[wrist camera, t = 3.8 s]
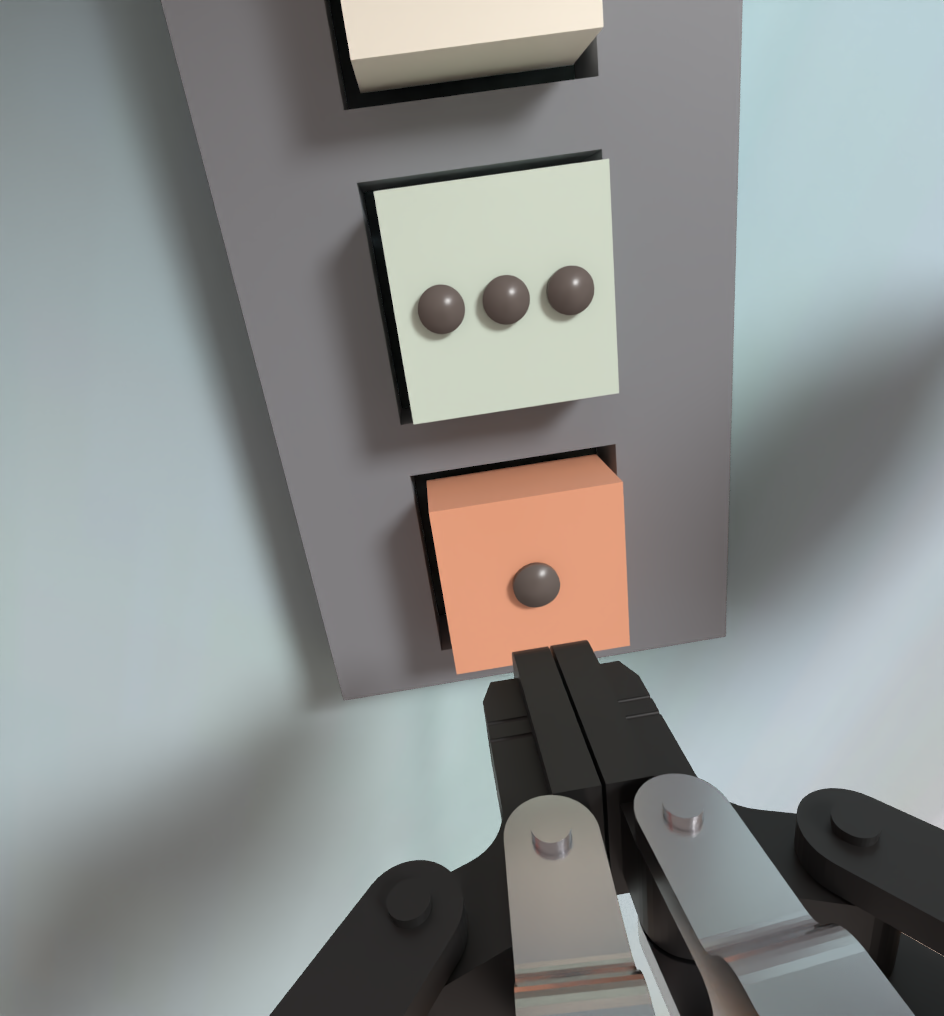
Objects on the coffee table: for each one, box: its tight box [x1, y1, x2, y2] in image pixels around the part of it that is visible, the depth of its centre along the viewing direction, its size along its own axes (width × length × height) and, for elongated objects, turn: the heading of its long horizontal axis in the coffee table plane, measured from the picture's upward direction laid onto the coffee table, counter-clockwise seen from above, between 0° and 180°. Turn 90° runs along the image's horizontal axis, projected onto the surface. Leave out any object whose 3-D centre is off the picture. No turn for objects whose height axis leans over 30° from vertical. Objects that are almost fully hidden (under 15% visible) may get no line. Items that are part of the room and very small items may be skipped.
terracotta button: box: [427, 454, 630, 674], centre depth 17 cm, size 5×5×3 cm
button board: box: [161, 0, 743, 700], centre depth 16 cm, size 12×22×2 cm, turn 8°
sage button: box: [373, 159, 619, 424], centre depth 14 cm, size 5×5×3 cm
